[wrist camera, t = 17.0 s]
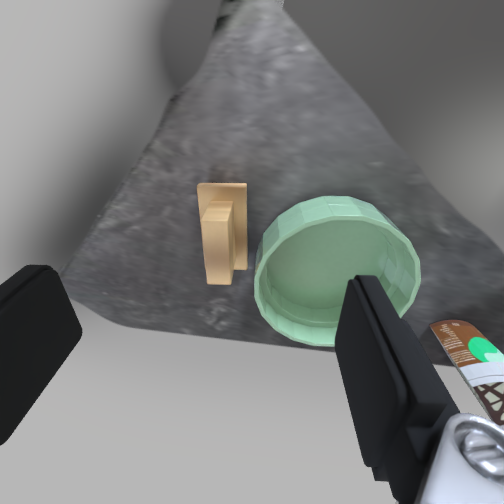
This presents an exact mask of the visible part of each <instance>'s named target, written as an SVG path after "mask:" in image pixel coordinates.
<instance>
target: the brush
mask: <svg viewBox="0 0 504 504" xmlns="http://www.w3.org/2000/svg"><path fill="white" fill-rule="evenodd" d="M197 195H198V204H199V214H200V223H201V233H202V242H203V252H204V261H205V269H206V276H207V284H220V285H231V282H232V276H233V271H234V270H247V267H248V239H247V184H246V183H199V184H198V186H197Z"/></svg>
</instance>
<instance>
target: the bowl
mask: <svg viewBox="0 0 504 504" xmlns="http://www.w3.org/2000/svg"><path fill="white" fill-rule="evenodd" d="M356 275H375V276H377V278H378V279H379V281H380V283H381V285H382V287H383V288H384V290H385V292H386V294H387V295H388V297H389V299H390V301H391V303H392V304H393V306H394V308H395V310H396V312H397V313H398V315H399V317H400V318H401V317H402V316H403V314H404V313H405V312H406V311H407V310H408V308H409V307H410V306H411V305H412V303H413V302H414V299H415V296H416V294H417V291H418V288H419V285H420V283H421V276H420V260H419V258H418V256H417V254H416V252H415V250H414V248H413V246H412V244H411V242H410V240H409V239H408V238H407V237H406V236H405V235H404V234H403V233H402V232H401V231H400V230H399V229H398V228H397V227H396V225H395V224H394V223H393V222H392V221H391V220H390V219H389V218H388V217H387V216H385V215H384V214H383V213H382V212H381V211H379V210H378V209H377V208H376V207H374V206H373V205H372V204H370V203H367V202H364V201H361V200H358V199H355V198H352V197H349V196H321V197H318V198H314V199H311V200H307V201H304V202H300V203H298V204H296V205H295V206H293V207H292V208H290V209H288V210H287V211H285V212H284V213H282V214H281V215H279V216H278V217H277V218H276V219H275V220H274V221H273V223H272V224H271V225H270V226H269V227H268V229H267V230H266V231H265V232H264V234H263V236H262V238H261V241H260V244H259V246H258V249H257V251H256V263H255V277H254V297H255V300H256V303H257V305H258V308H259V310H260V313H261V315H262V317H263V318H264V319H265V320H266V321H267V322H268V323H269V324H270V325H271V326H272V327H273V328H274V330H276V331H277V332H279V333H281V334H283V335H284V336H286V337H288V338H290V339H291V340H294V341H297V342H301V343H305V344H308V345H312V346H332V347H335V344H334V342H335V335H336V331H337V327H338V322H339V318H340V314H341V309H342V305H343V301H344V296H345V292H346V288H347V283H348V281H349V279H354V277H355V276H356Z"/></svg>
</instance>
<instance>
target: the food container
mask: <svg viewBox="0 0 504 504" xmlns="http://www.w3.org/2000/svg"><path fill="white" fill-rule="evenodd" d="M429 326H430V327H431V329H432V331H433V332H434V334H435V335H436V337H437V339H438V340H439V342H440V344H441V345H442V347H443V348H444V350H445V352H446V353H447V355H448V356H449V358H450V360H451V361H452V363H453V364H454V366H455V367H456V369H457V370H458V372H459V373H460V374H461V376H462V378H463V379H464V381H465V382H466V384H467V385H468V387H469V388H470V389H471V391H472V392H473V394H474V395H475V397H476V398H477V400H478V401H479V403H480V404H481V406H482V407H483V409H484V410H485V412H486V413H487V414H488V416H489V417H490V419H491V421H493V422H494V423H496V424H497V425H499V426H500V427H502V428H503V429H504V355H503V354H502V353H501V352H500V351H499V350H498V349H497V348H496V347H495V346H494V345H493V344H492V343H491V342H490V341H489V340H488V339H487V338H485V337H484V336H483V335H482V334H481V333H480V332H479V331H478V330H477V329H476V328H475V327H474V326H473V325H472V324H470V323H468V322H465V321H461V320H445V321H439V322H436V323H433V324H430V325H429Z"/></svg>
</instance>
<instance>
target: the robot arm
mask: <svg viewBox="0 0 504 504" xmlns="http://www.w3.org/2000/svg"><path fill="white" fill-rule="evenodd" d="M81 336H82V327H81V325H80V323H79V321H78V318H77V316H76V314H75V311H74V309H73V307H72V305H71V302H70V300H69V298H68V295H67V293H66V291H65V289H64V286H63V284H62V282H61V280H60V277H59V275H58V273H57V272H56V271H55V270H53V268H51V267H50V266H48V265H27V266H25V267H23V268H22V269H21V270H19V271H18V272H17V273H15V274H14V275H13V276H12V277H10V278H9V279H8V280H6V281H5V282H4V283H2V284H1V285H0V445H2V444H4V443H5V442H6V441H7V440H8V439H9V437H10V436H11V435H12V433H13V432H14V430H15V429H16V427H17V426H18V425H19V423H20V422H21V421H22V419H23V418H24V417H25V415H26V414H27V412H28V411H29V410H30V408H31V407H32V405H33V404H34V403H35V401H36V400H37V399H38V397H39V396H40V394H41V393H42V391H43V390H44V389H45V387H46V386H47V385H48V383H49V382H50V380H51V379H52V378H53V376H54V375H55V374H56V372H57V371H58V369H59V368H60V367H61V365H62V364H63V362H64V361H65V360H66V358H67V357H68V355H69V354H70V353H71V351H72V350H73V349H74V347H75V346H76V344H77V343H78V342H79V340H80V339H81ZM334 344H335V351H336V355H337V359H338V363H339V367H340V371H341V375H342V379H343V383H344V387H345V391H346V395H347V399H348V403H349V407H350V411H351V415H352V418H353V422H354V426H355V431H356V434H357V438H358V442H359V446H360V450H361V454H362V458H363V461H364V464H365V465H366V466H367V467H371V468H372V472H373V475H374V479H375V481H387V482H389V485H390V488H391V491H392V495H393V497H394V498H395V499H396V500H397V501H396V504H504V429H503V428H502V427H500V426H499V425H497V424H496V423H494V422H493V421H490V420H488V419H486V418H484V417H482V416H479V415H474V414H471V413H460V411H459V409H458V407H457V406H456V404H455V402H454V401H453V399H452V397H451V396H450V394H449V392H448V390H447V389H446V387H445V385H444V383H443V382H442V380H441V378H440V377H439V375H438V373H437V371H436V370H435V368H434V366H433V365H432V363H431V361H430V359H429V358H428V356H427V354H426V352H425V351H424V349H423V347H422V346H421V344H420V342H419V340H418V339H417V337H416V335H415V334H414V332H413V330H412V328H411V327H410V325H409V324H408V323H407V321H405V320H404V319H400V317H399V315H398V313H397V312H396V310H395V308H394V306H393V304H392V303H391V301H390V299H389V297H388V295H387V294H386V292H385V290H384V288H383V287H382V285H381V283H380V281H379V279H378V278H377V276H375V275H356V276H355V277H354V279H349V281H348V283H347V288H346V292H345V296H344V301H343V305H342V309H341V314H340V318H339V322H338V327H337V331H336V335H335V342H334Z"/></svg>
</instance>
